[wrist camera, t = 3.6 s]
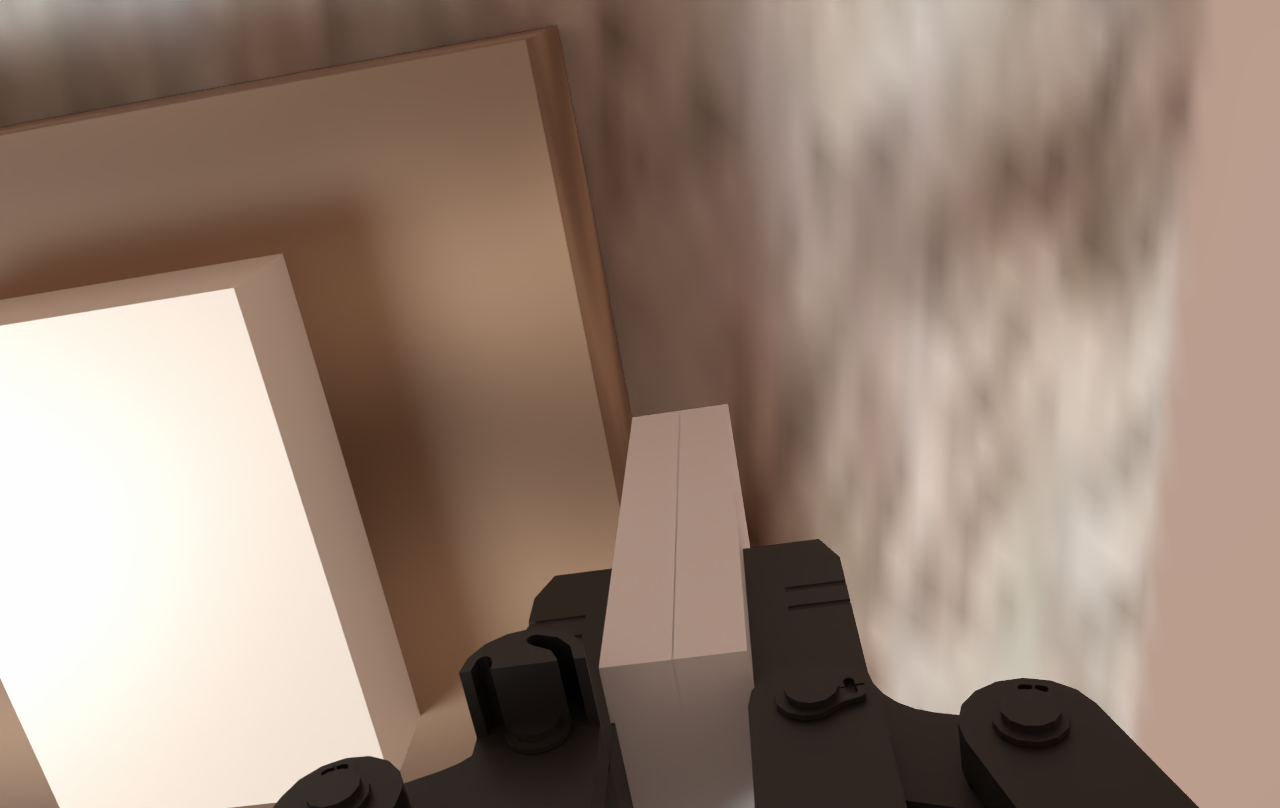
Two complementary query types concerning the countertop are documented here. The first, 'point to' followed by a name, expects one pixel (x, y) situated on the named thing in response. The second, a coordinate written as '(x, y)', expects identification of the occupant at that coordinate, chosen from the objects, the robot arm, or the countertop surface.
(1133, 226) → the countertop surface
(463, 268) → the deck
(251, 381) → the cream rectangular block
